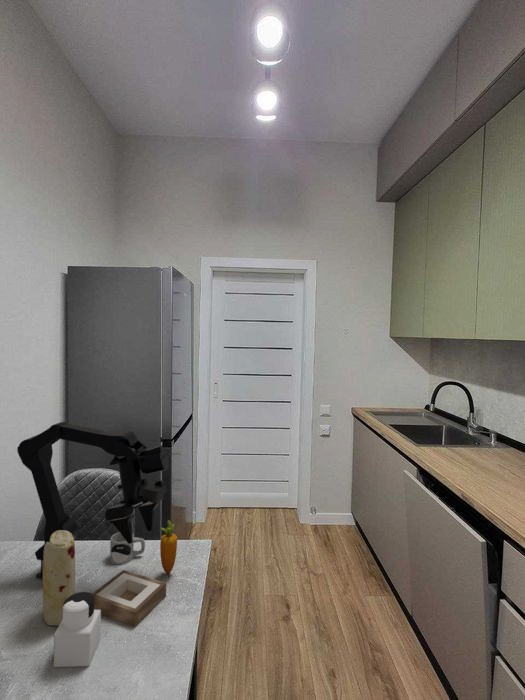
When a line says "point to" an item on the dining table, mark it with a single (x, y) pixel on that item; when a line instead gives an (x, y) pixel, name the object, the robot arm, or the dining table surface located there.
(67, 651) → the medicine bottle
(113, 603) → the walnut box
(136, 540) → the mug
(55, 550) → the food model
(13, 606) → the dining table surface
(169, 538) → the carrot
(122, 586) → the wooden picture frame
